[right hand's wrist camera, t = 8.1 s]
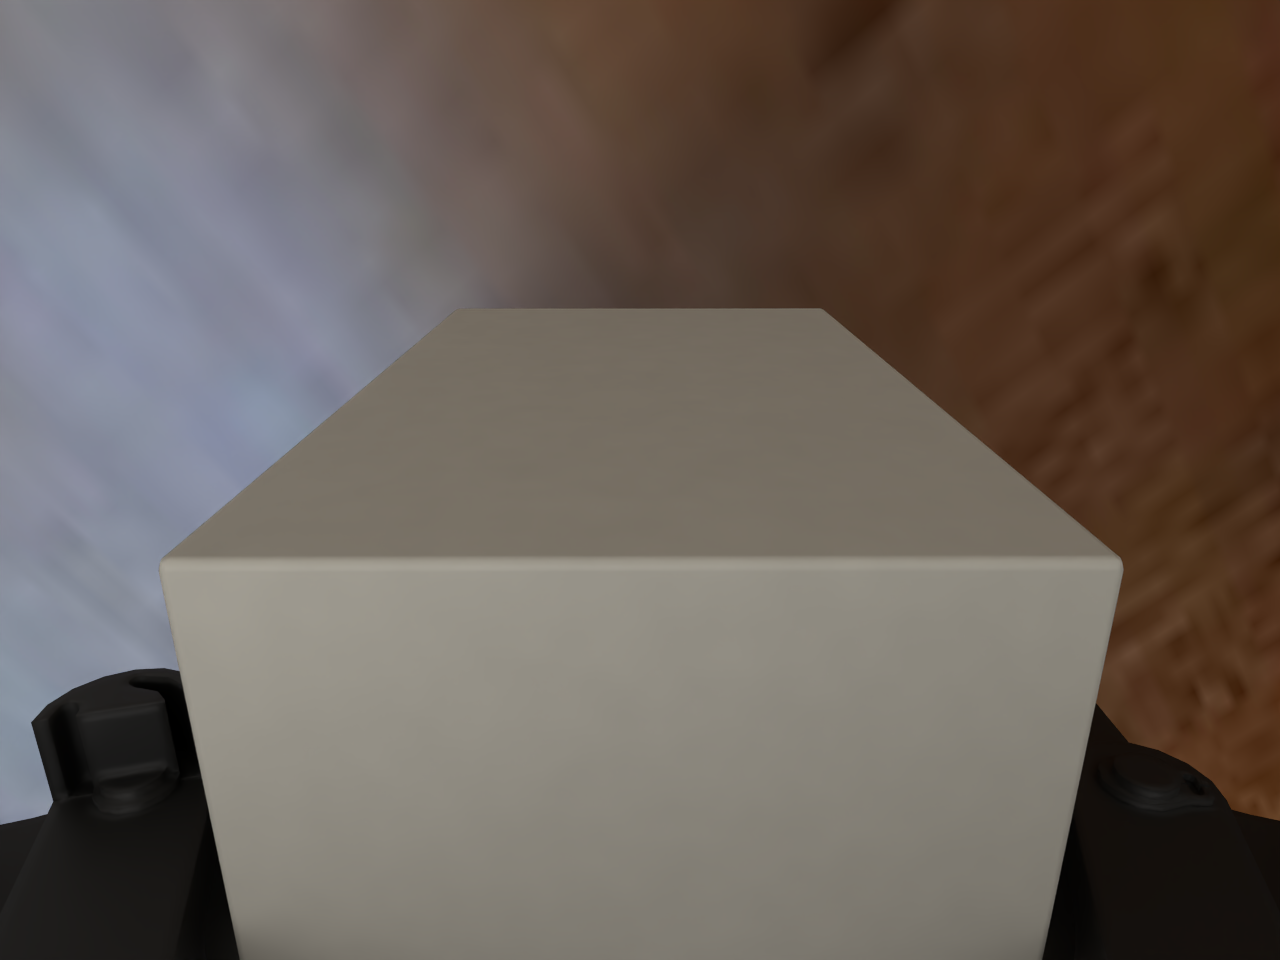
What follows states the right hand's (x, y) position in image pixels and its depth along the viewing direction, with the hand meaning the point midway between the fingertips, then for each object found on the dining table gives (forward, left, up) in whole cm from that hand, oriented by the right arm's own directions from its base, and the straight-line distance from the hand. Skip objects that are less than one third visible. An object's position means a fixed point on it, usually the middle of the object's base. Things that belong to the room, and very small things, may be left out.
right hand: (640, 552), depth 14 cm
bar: (-6, +11, -1) cm, 12 cm away
